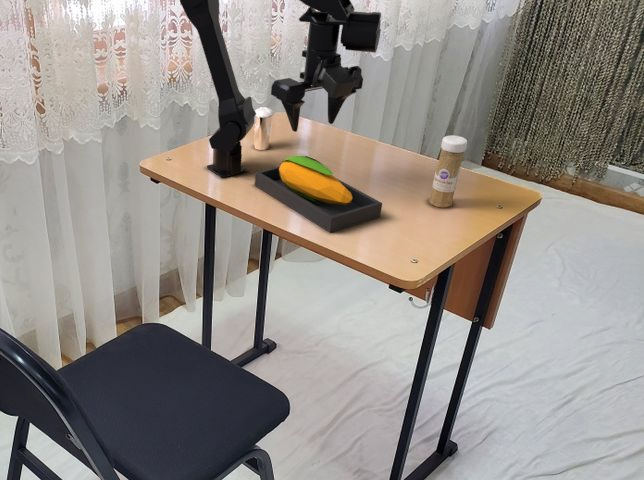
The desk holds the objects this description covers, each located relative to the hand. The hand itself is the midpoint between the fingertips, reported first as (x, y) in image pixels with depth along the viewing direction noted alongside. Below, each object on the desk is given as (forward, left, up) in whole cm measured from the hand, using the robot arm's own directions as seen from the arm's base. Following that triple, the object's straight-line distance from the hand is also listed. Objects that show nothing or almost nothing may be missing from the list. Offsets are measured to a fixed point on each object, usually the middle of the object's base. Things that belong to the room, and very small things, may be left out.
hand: (312, 127), depth 150 cm
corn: (+8, -4, -12) cm, 15 cm away
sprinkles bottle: (+22, +17, -12) cm, 30 cm away
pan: (+8, -4, -12) cm, 15 cm away
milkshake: (-21, +3, -12) cm, 24 cm away
